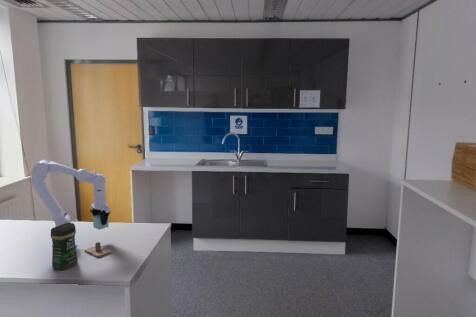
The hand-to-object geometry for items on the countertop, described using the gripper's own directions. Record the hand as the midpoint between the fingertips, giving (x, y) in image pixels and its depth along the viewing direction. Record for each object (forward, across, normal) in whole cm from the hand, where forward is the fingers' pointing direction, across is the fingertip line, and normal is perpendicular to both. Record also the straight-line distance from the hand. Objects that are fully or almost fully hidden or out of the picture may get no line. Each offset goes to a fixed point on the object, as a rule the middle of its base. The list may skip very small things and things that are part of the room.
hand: (100, 223), depth 166 cm
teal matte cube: (+2, 0, 0) cm, 2 cm away
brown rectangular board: (+10, -10, +8) cm, 16 cm away
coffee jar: (+10, -11, +24) cm, 28 cm away
